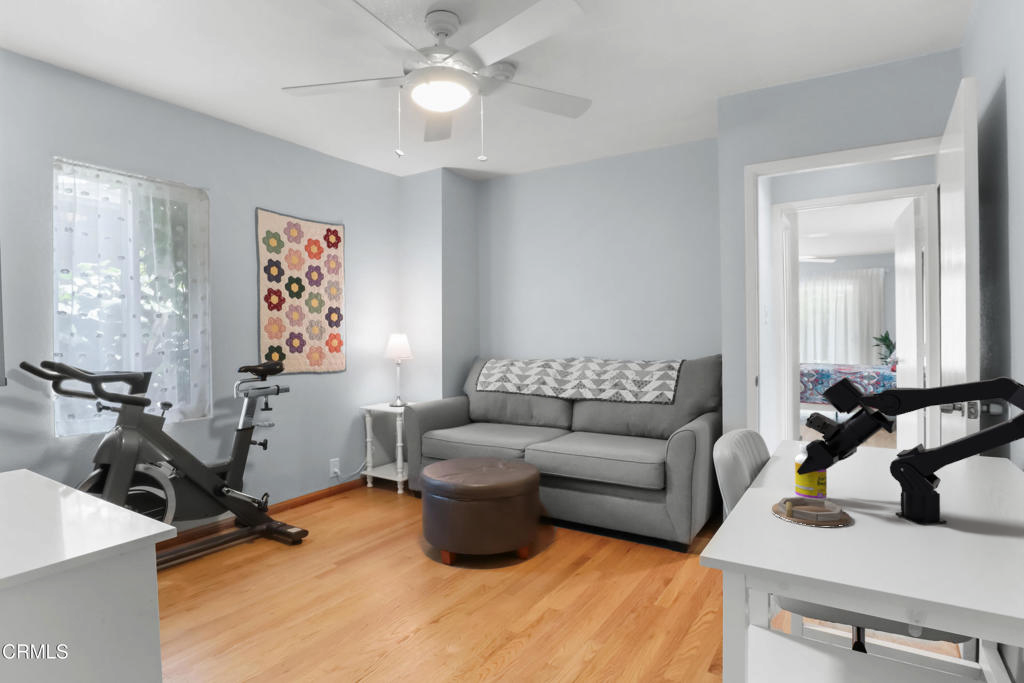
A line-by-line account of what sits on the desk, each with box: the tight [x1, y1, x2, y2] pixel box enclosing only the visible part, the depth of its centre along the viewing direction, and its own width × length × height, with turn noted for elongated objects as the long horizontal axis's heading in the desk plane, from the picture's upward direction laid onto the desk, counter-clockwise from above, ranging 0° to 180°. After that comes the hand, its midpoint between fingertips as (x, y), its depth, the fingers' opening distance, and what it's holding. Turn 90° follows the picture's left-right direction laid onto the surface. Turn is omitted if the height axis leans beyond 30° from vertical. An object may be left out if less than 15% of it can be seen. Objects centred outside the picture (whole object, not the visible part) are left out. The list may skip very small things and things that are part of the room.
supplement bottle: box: [794, 443, 828, 501], centre depth 132 cm, size 7×7×13 cm
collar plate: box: [771, 496, 851, 526], centre depth 120 cm, size 15×15×4 cm
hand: (805, 469), depth 133 cm, fingers open, 9 cm apart
